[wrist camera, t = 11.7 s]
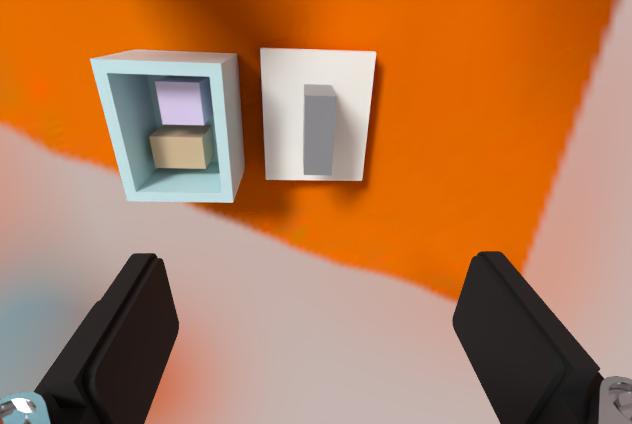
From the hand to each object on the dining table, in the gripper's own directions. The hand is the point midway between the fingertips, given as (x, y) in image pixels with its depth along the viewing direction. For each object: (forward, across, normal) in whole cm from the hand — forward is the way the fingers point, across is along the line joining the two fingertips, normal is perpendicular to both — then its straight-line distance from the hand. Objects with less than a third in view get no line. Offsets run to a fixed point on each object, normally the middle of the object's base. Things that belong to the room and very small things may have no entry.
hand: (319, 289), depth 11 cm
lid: (+23, -1, +1) cm, 23 cm away
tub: (+23, +10, +1) cm, 25 cm away
